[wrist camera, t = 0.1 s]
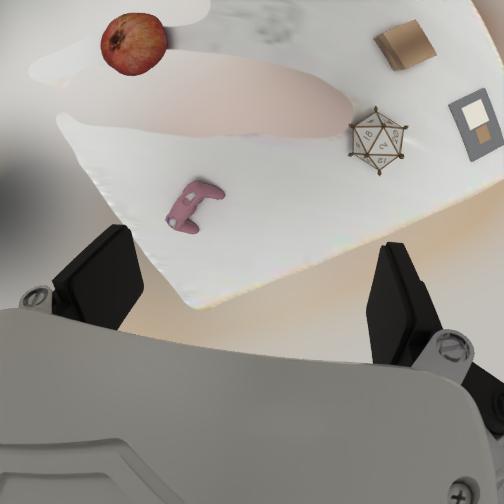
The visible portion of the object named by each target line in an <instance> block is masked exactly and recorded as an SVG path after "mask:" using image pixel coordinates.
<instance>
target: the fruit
mask: <svg viewBox="0 0 504 504" xmlns="http://www.w3.org/2000/svg"><path fill="white" fill-rule="evenodd" d="M166 48H167V39H166V34H165V31H164V28H163V25H162V23H161V22H160V21H159V19H158V18H157V17H155V16H153V15H150V14H145V13H127V14H124V15H121V16H119V17H118V18H116V19H114V20H113V21H112V22H111V23H110V24H109V26H108V27H107V29H106V30H105V32H104V33H103V35H102V39H101V52H102V55H103V58H104V60H105V61H106V62H107V64H108V65H109V66H111V67H112V68H114V69H115V70H117V71H118V72H119V73H121V74H123V75H127V76H136V75H141V74H143V73H145V72H147V71H148V70H150V69H151V68H152V67H154V66H155V65H156V64H157V63H158V62H159V61H160V60H161V59H162V57H163V56H164V53H165V51H166Z"/></svg>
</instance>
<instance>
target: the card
mask: <svg viewBox="0 0 504 504" xmlns="http://www.w3.org/2000/svg"><path fill="white" fill-rule="evenodd" d="M449 108H450V110H451V112H452V114H453V117H454V119H455V122H456V124H457V126H458V129H459V131H460V134H461V136H462V139H463V142H464V144H465V147H466V150H467V152H468V155H469V158H470V161H471V162H473V161H475V160H477V159H479V158H480V157H482V156H484V155H486V154H488V153H490V152H492V151H493V150H495V149H497V148H499V147H501V146H503V145H504V139H503V136H502V133H501V130H500V127H499V124H498V121H497V118H496V115H495V112H494V110H493V107H492V104H491V102H490V99H489V97H488V94H487V92H486V89H485V88H483V89H480V90H478V91H476V92H474V93H472V94H470V95H468V96H466V97H464V98H462V99H459V100H457V101H455V102H453V103H451V104H449Z"/></svg>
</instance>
